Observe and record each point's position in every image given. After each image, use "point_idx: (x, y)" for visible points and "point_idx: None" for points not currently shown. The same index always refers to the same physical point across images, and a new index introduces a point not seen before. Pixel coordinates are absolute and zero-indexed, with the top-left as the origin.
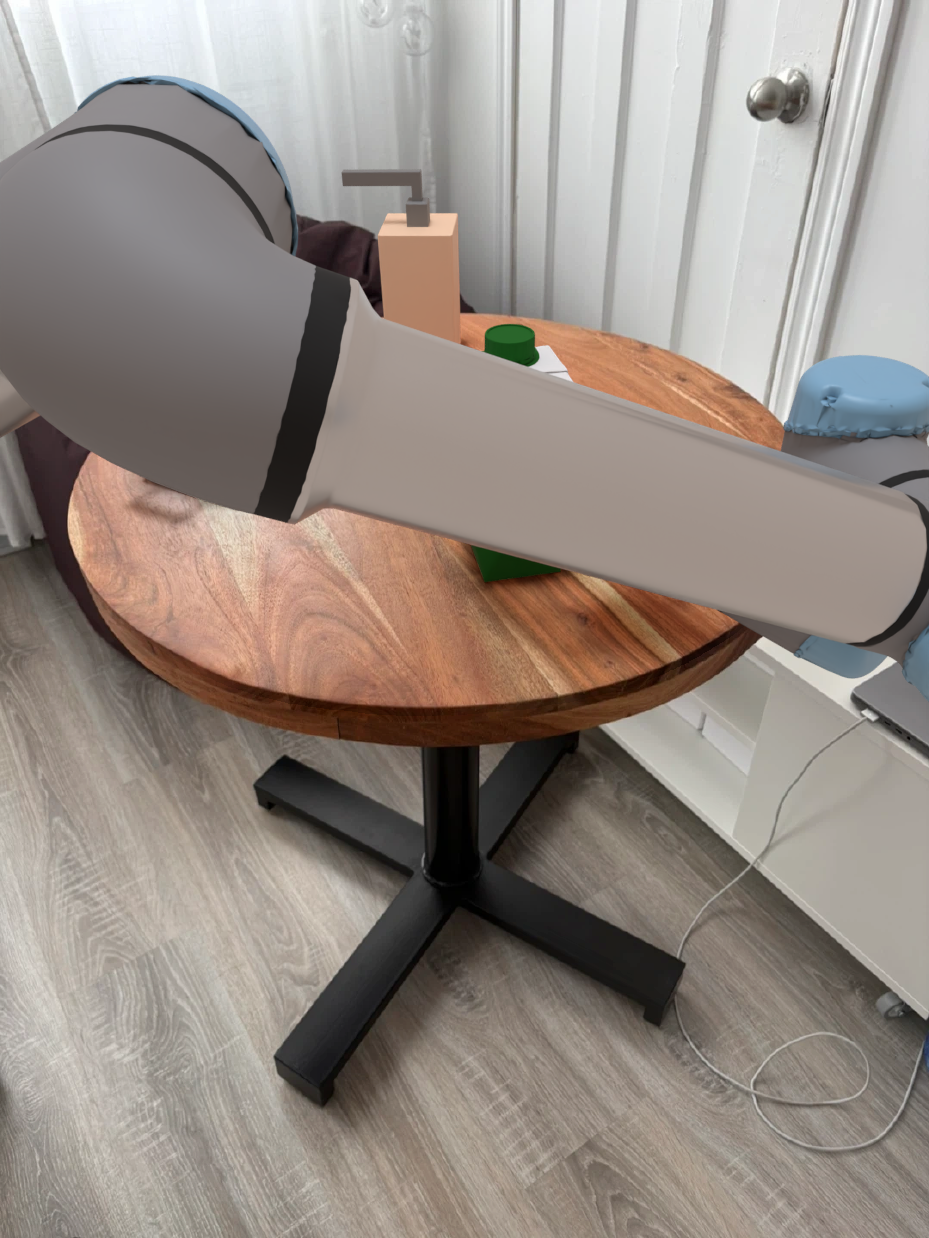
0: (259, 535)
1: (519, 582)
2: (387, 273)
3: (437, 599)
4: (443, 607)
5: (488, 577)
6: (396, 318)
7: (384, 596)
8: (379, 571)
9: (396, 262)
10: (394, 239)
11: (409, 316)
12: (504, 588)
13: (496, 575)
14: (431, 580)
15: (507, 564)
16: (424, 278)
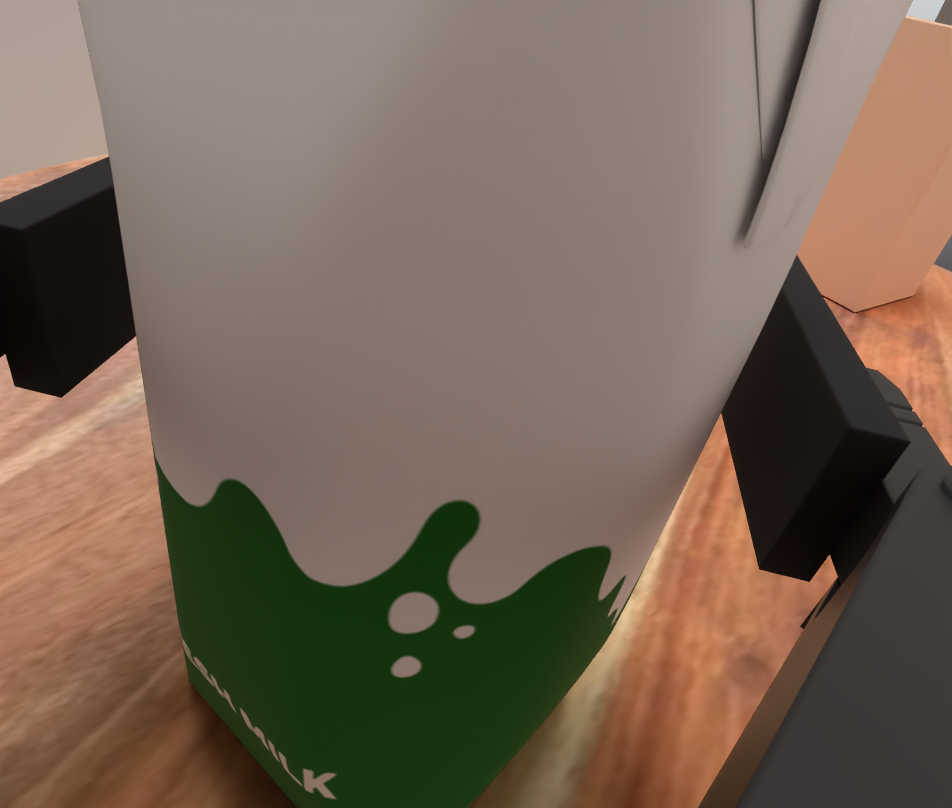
0: None
1: (243, 788)
2: None
3: (50, 604)
4: (5, 638)
5: (190, 680)
6: None
7: (33, 490)
8: (149, 442)
9: None
10: None
11: (832, 181)
12: (184, 759)
13: (205, 698)
14: (151, 549)
15: (216, 704)
16: (899, 117)
